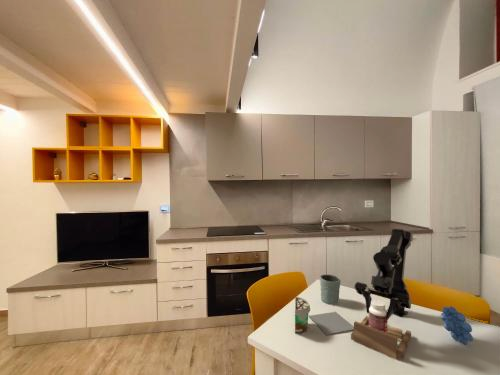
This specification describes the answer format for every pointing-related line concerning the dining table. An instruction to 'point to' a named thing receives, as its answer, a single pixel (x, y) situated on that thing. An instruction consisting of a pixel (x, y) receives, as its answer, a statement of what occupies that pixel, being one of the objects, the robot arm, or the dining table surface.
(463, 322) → the grapes
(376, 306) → the pill bottle
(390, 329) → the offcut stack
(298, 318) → the food container
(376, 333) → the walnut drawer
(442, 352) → the dining table surface
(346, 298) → the dining table surface
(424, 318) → the dining table surface
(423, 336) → the dining table surface
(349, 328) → the slate mat
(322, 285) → the grey-green rounded cylinder
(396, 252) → the robot arm
